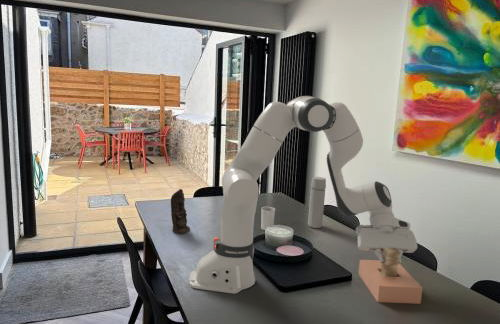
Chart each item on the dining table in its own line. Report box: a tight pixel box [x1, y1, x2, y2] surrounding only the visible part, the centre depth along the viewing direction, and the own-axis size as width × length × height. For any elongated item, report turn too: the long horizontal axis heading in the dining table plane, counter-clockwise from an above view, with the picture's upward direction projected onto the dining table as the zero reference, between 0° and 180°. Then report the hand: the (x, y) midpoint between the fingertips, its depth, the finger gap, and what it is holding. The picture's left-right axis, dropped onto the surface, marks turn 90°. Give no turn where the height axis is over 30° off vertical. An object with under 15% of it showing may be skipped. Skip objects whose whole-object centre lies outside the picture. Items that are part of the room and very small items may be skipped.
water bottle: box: [307, 176, 327, 229], centre depth 191 cm, size 9×8×25 cm
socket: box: [357, 259, 423, 305], centre depth 131 cm, size 14×20×6 cm
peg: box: [381, 247, 400, 277], centre depth 130 cm, size 4×4×10 cm
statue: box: [170, 188, 191, 235], centre depth 173 cm, size 7×7×20 cm
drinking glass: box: [260, 206, 276, 231], centre depth 184 cm, size 7×7×10 cm
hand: (390, 263), depth 129 cm, fingers closed on peg, 4 cm apart
